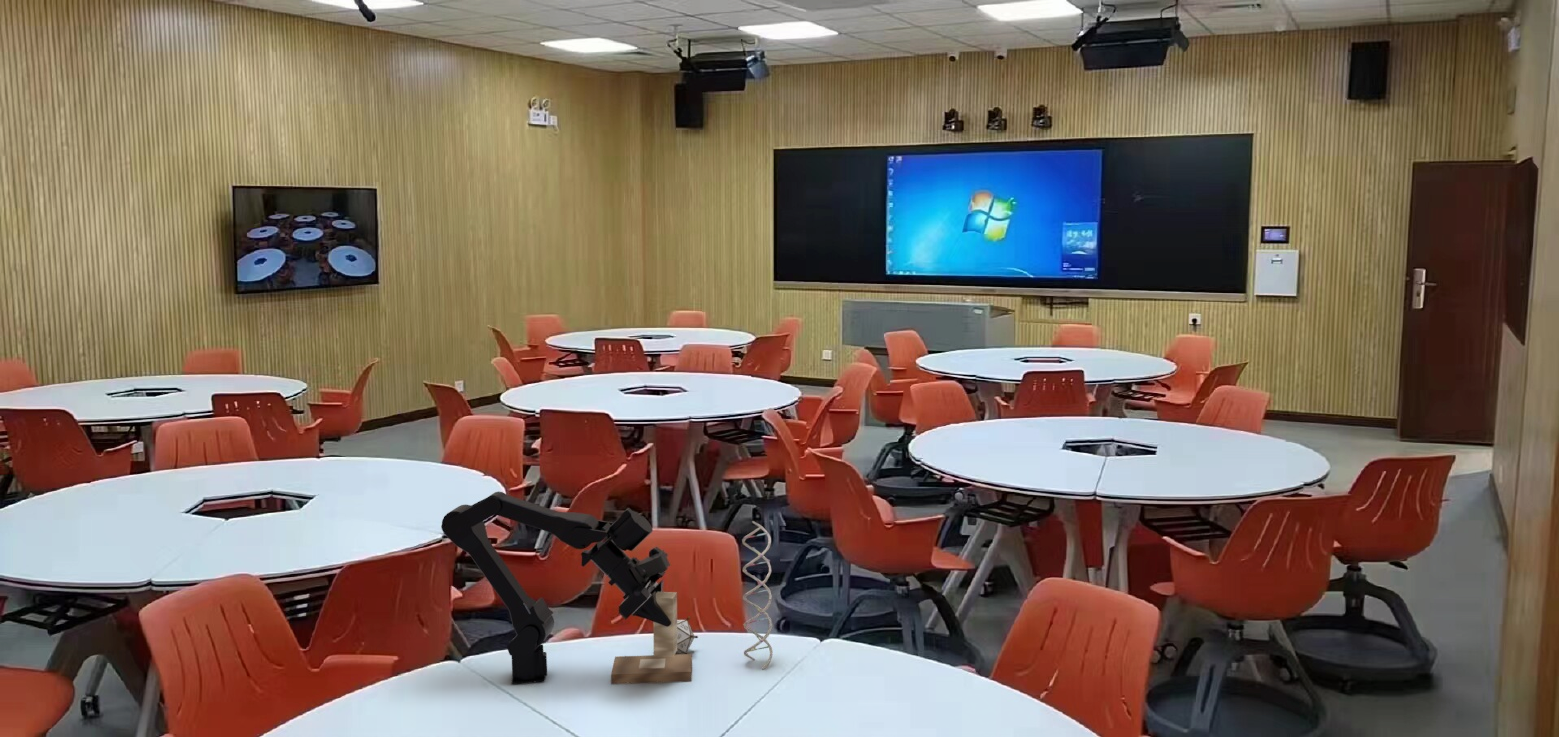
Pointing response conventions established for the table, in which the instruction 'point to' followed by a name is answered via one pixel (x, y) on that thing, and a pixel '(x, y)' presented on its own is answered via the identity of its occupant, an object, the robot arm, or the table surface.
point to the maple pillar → (662, 634)
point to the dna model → (762, 611)
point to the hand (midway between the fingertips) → (671, 621)
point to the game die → (684, 636)
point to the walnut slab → (651, 669)
